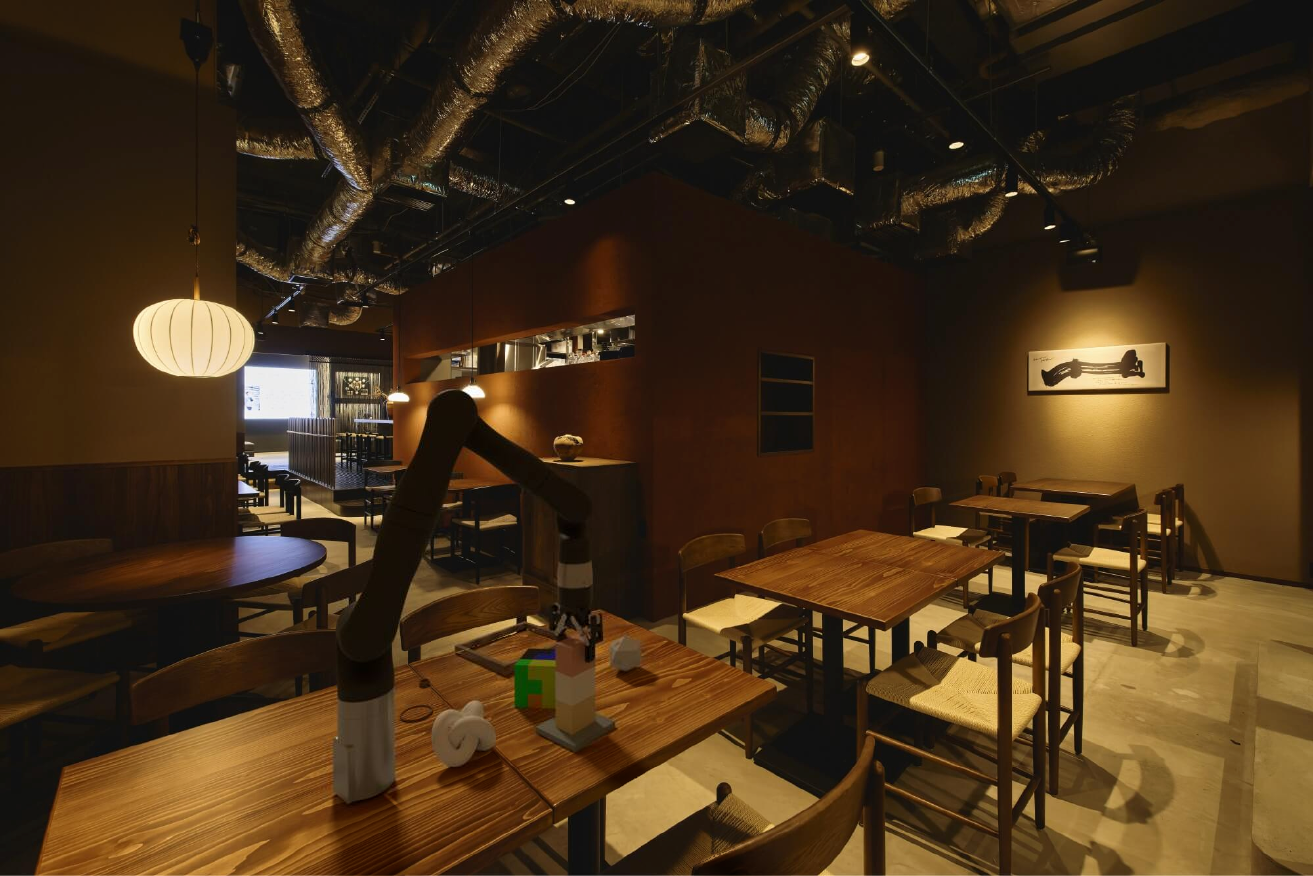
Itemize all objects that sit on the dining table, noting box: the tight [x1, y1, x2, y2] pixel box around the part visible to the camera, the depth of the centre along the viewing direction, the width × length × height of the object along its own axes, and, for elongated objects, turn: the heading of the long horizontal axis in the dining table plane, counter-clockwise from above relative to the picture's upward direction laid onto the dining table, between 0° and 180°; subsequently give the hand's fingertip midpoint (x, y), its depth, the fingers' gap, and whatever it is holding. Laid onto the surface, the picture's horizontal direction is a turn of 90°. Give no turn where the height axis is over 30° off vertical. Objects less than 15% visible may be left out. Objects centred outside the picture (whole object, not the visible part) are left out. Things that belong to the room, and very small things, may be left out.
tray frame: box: [454, 621, 572, 676], centre depth 159 cm, size 25×23×3 cm
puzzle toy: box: [513, 647, 556, 710], centre depth 131 cm, size 10×10×10 cm
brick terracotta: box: [555, 633, 596, 677], centre depth 117 cm, size 7×5×6 cm
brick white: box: [555, 666, 596, 706], centre depth 117 cm, size 7×5×6 cm
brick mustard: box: [555, 693, 596, 735], centre depth 117 cm, size 7×5×6 cm
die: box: [609, 634, 643, 672], centre depth 145 cm, size 8×9×10 cm
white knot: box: [431, 700, 497, 768], centre depth 108 cm, size 11×12×9 cm
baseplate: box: [535, 712, 616, 753], centre depth 117 cm, size 12×12×1 cm
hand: (575, 656), depth 117 cm, fingers open, 8 cm apart
